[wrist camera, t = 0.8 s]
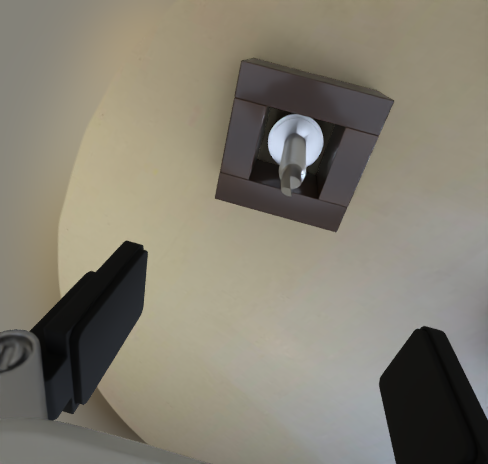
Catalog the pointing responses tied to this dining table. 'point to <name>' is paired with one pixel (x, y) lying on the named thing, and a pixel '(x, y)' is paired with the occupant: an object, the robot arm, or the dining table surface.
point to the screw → (294, 148)
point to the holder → (310, 105)
